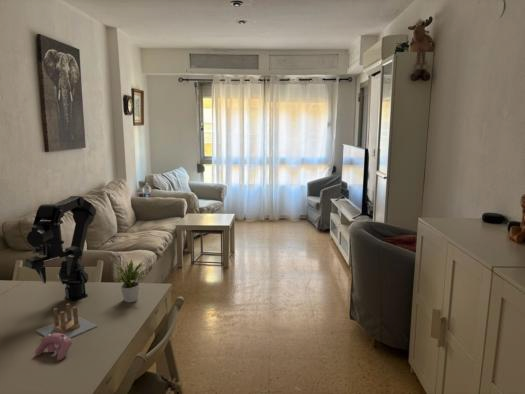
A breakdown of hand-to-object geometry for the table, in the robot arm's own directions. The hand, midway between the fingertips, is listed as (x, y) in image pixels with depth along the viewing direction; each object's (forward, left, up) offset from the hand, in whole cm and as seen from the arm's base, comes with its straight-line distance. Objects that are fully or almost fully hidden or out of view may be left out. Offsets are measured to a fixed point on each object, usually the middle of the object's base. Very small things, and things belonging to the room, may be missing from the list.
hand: (57, 279), depth 147 cm
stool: (+6, +16, -12) cm, 21 cm away
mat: (+6, +16, -12) cm, 21 cm away
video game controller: (+16, +28, -13) cm, 35 cm away
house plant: (-22, +15, -13) cm, 29 cm away
